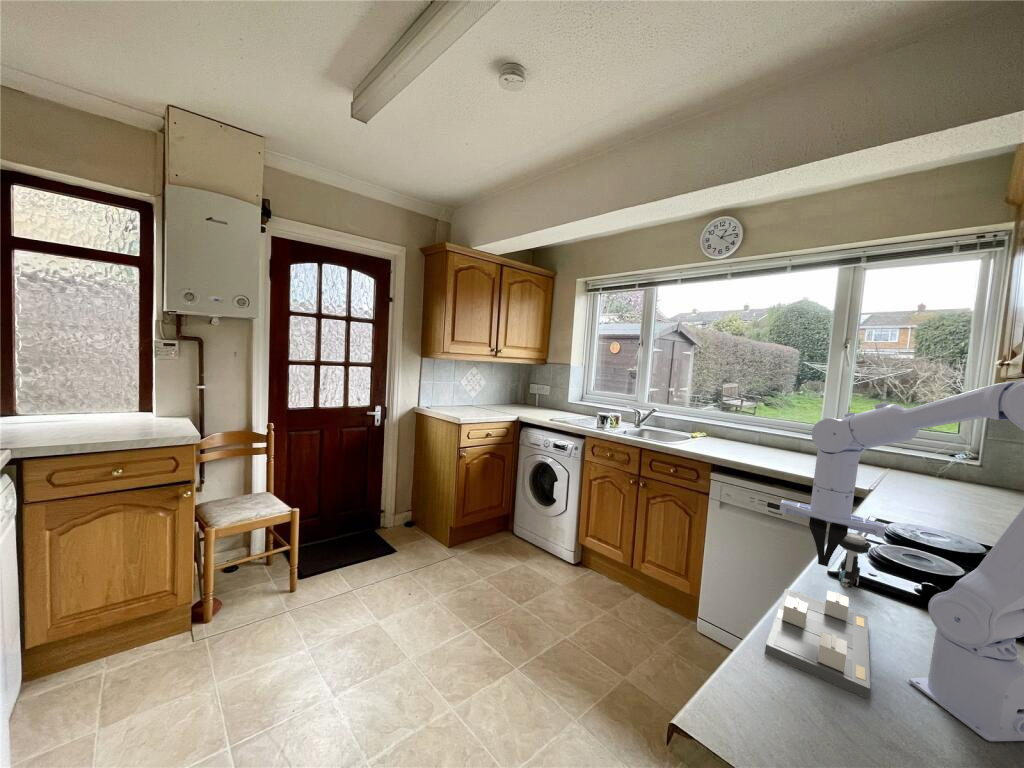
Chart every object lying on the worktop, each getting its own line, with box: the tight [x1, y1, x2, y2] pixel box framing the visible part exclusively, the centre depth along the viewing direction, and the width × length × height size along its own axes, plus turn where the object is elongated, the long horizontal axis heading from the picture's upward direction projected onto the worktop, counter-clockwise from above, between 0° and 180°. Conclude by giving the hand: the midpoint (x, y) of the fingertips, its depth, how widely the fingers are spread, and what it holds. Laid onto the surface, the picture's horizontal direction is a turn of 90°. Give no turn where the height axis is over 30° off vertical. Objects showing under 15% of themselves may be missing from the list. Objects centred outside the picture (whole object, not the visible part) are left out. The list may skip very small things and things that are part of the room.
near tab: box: [817, 632, 847, 672], centre depth 61 cm, size 4×3×3 cm
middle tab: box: [782, 596, 808, 628], centre depth 70 cm, size 4×3×3 cm
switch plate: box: [764, 588, 871, 700], centre depth 68 cm, size 22×12×2 cm, turn 141°
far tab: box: [824, 590, 850, 621], centre depth 73 cm, size 4×3×3 cm
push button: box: [838, 532, 872, 588], centre depth 87 cm, size 7×5×10 cm
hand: (823, 563), depth 74 cm, fingers closed
